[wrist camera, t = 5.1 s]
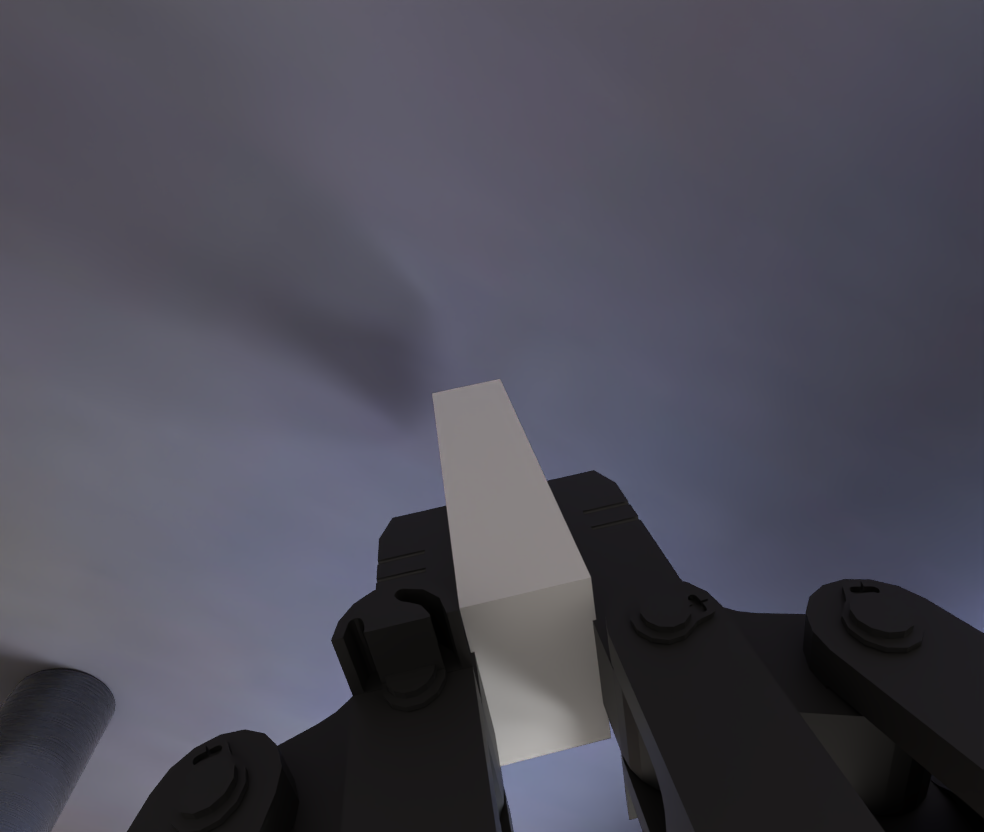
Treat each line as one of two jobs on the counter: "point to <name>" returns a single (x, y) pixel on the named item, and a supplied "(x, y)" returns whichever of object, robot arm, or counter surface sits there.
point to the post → (48, 744)
